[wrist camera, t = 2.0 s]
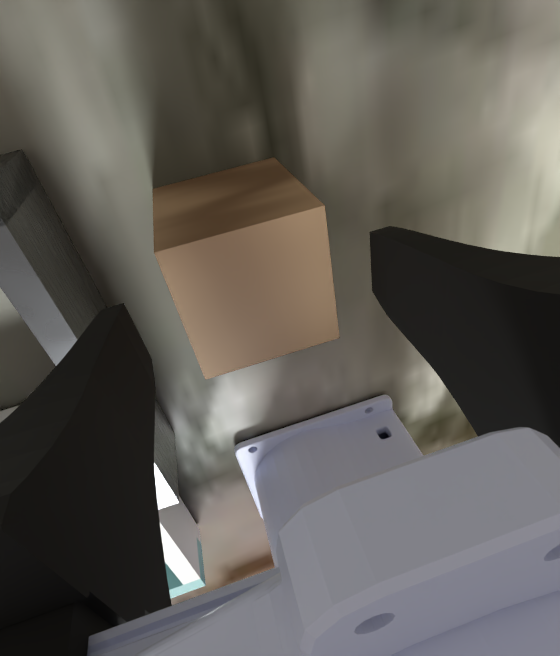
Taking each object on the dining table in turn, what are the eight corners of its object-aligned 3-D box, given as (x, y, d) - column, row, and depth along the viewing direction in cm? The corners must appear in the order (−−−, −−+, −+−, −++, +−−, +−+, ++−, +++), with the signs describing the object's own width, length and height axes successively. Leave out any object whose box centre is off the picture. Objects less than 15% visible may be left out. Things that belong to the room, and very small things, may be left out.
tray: (107, 378, 18) (99, 439, 15) (199, 529, 27) (205, 585, 24) (-232, 482, 17) (-308, 570, 14) (-21, 606, 25) (-42, 676, 22)
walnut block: (273, 156, 15) (324, 205, 11) (292, 264, 18) (339, 337, 13) (152, 188, 14) (154, 252, 10) (191, 293, 17) (205, 379, 13)
